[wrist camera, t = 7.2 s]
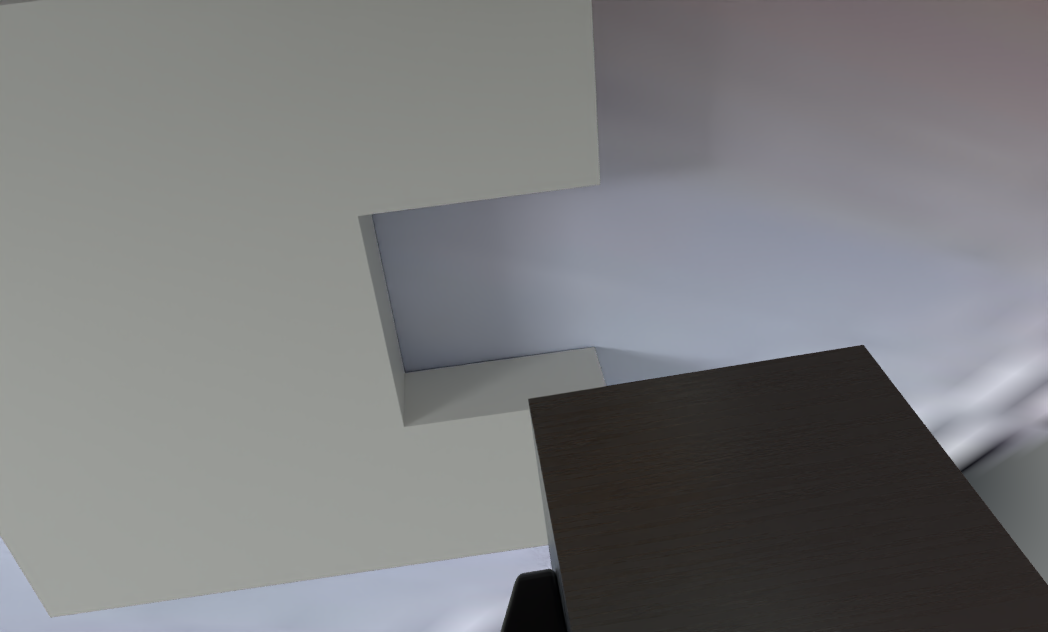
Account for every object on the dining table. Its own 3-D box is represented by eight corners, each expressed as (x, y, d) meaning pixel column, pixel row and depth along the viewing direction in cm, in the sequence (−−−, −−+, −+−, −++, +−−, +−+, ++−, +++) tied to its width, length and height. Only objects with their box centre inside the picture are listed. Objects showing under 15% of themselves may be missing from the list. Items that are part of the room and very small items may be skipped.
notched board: (77, 554, 23) (50, 617, 21) (-225, 9, 15) (-303, 41, 13) (601, 479, 23) (616, 535, 22) (569, -84, 16) (588, -65, 14)
